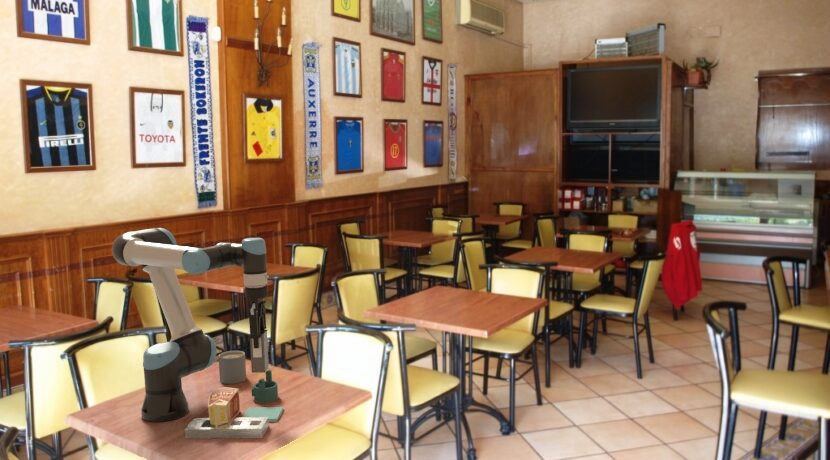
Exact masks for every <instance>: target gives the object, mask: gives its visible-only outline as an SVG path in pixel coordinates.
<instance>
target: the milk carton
mask: <svg viewBox="0 0 830 460" xmlns="http://www.w3.org/2000/svg"><path fill="white" fill-rule="evenodd" d="M207 401H208V402H207V409H208V410H207V411H208V418H209V419H210V423H211V424H212V425H216V428H217V426H218V425H221V424H224V423H227V422H228V421H229V419H230V418H236V416H238V415H239V413H240V412H241V402H240V401H241V400H240V390H239V388H235V387H225V386H222V387H221V386H220V387H219V388H216V389H214V390H212V391H210V393H209V395H208V400H207Z"/></svg>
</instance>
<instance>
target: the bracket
mask: <svg viewBox="0 0 830 460" xmlns="http://www.w3.org/2000/svg"><path fill="white" fill-rule="evenodd" d="M272 376H273V375H272V370H271V369H267V371H266V372H265V379H264V378H263V377H261V378H259V380H258V381H257V382H256V383H254V384H253V385H252V387H250V388H251V397H254V398H253V399H254V401H255V403H259V404H260V403H261V404H262V403H265V404H267V403H272V402H275V401H276V400H278V399H279V393H278V392H279V391H278V389H279V388H278V382H277V381H275V380H274V381H273V377H272Z"/></svg>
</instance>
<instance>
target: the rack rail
mask: <svg viewBox="0 0 830 460" xmlns="http://www.w3.org/2000/svg"><path fill="white" fill-rule="evenodd" d="M269 426H270V425H269V422H268V417H243V418H242V417H234V418H230V419H229V421H228V422H227V423H224V424H221V425H218V426H217V428H216V425H212V424H211V423H210V419H209V417H194V418H192V420H191V421H190V422H189V424H188V425H186V427H185V428H184V431H183V432H184V439H186V440H193V439H194V440H196V439H197V440H198V439H201V440H202V439H204V440H205V439H209V440H211V439H262V438H263V436H264V435H265V433H266V431H267V430H268V428H269Z"/></svg>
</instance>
